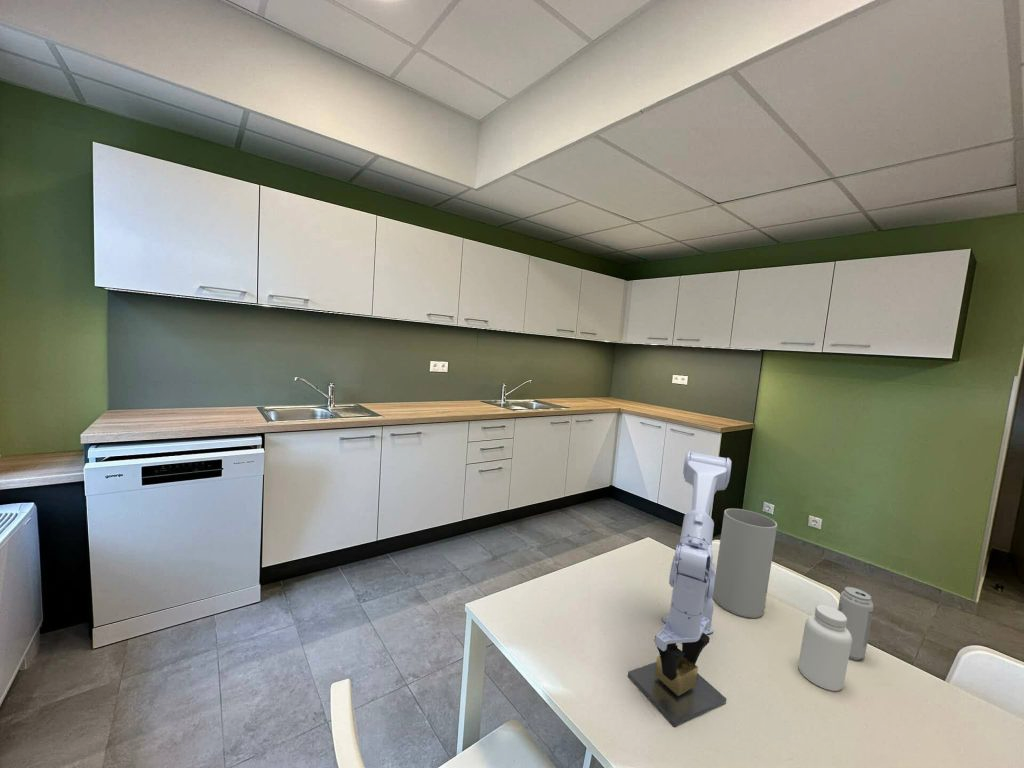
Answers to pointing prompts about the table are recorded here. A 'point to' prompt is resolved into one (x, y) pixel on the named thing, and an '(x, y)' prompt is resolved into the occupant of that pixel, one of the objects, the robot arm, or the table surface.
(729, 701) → the table surface
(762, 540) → the cylinder vase
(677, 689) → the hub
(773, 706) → the table surface
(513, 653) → the table surface
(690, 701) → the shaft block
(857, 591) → the energy drink can
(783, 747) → the table surface
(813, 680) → the pill bottle
